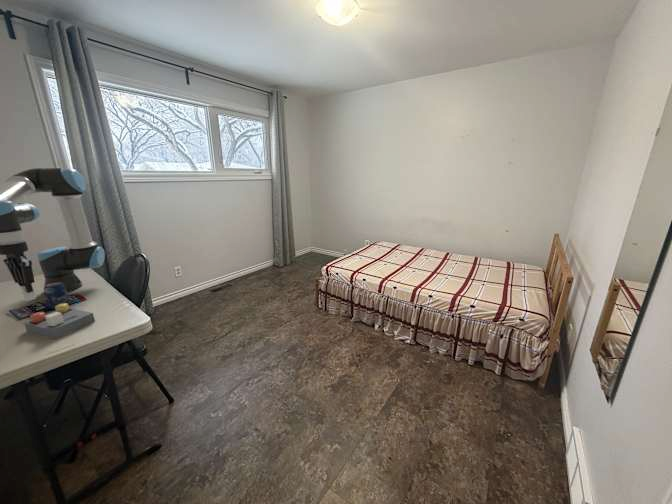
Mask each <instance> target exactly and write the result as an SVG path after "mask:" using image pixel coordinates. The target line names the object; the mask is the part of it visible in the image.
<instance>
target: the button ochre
mask: <svg viewBox="0 0 672 504" xmlns="http://www.w3.org/2000/svg"><path fill="white" fill-rule="evenodd" d="M69 308H70V307H69V305H68V303H63V304H59V305H56V306H55V309H54V310H55V311H56V312H59V313H65V312H68V311H69V310H70V309H69Z"/></svg>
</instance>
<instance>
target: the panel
mask: <svg viewBox="0 0 672 504" xmlns="http://www.w3.org/2000/svg"><path fill="white" fill-rule="evenodd" d="M69 309H70V310H69V311H68V312H65V313H62V316H63V319H64V322H63V323H60V324H58V325H55V326H50V325H48V323H47V321H46V320H45V321H42V322H39V323H32V320H31V319H30V320H28V321H25V322H23V324H24V327H25V330H26V332H28V333H32V334H35V335H39V336H42V337H46V338H49V339H52V340H56V339H58V338H61V337H63V336H65V335H68V334H70V333H73V332H74V331H77V330H79V329H82V328H84V327H85V326H87V325H89V324H93V323H95V321H96V319H95V316H94V313H93V312H90V311H85V310H81V309H77V308H72V307H69ZM55 312H56V310H53V311H51V312H49V313H45V316H47V315H49V314H52V313H55Z"/></svg>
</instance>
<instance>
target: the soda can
mask: <svg viewBox="0 0 672 504" xmlns="http://www.w3.org/2000/svg"><path fill="white" fill-rule="evenodd" d="M43 291H45V292H44V294H45V296H46V299H47V302H48V305H49V308H51V309H52V310H56V309H55V306H56V305H59V304H63V303H68V306H69V305H70V303H71V300H70V297H69V294H68V292H67V291H66V288H65V285H64V284H63V283H62V282H53V283H49V284H46V285H45V288H44V287H43Z"/></svg>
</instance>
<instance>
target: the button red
mask: <svg viewBox="0 0 672 504" xmlns="http://www.w3.org/2000/svg"><path fill="white" fill-rule="evenodd" d="M45 315H46V313H45V312H44V311H38V312H35V313H32V314H30V315H29V317H30V320H32V323H39V322H42V321H45V320H46V318H45Z"/></svg>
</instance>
